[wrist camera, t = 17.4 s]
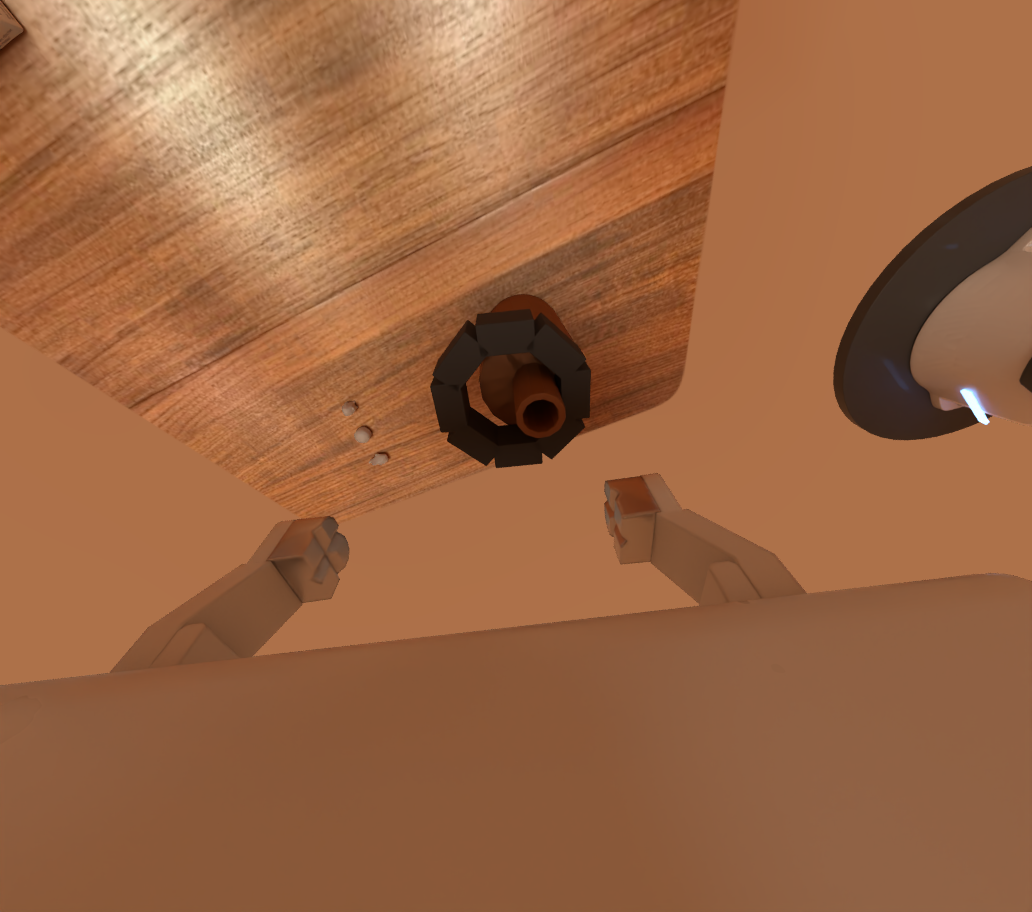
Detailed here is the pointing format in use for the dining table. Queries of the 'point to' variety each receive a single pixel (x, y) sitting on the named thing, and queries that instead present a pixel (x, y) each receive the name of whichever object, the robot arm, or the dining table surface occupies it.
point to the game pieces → (363, 433)
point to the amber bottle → (523, 380)
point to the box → (8, 26)
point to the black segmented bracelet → (503, 338)
